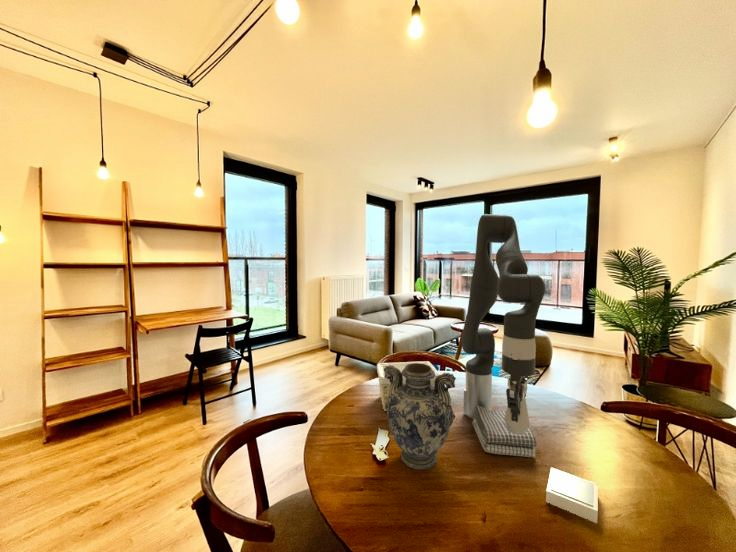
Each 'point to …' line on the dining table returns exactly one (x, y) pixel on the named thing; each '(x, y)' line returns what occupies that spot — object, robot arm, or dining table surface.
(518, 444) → the towel
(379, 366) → the cream box
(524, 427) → the salt shaker
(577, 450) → the dining table surface
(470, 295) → the robot arm
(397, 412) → the decorative vase
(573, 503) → the pedestal
